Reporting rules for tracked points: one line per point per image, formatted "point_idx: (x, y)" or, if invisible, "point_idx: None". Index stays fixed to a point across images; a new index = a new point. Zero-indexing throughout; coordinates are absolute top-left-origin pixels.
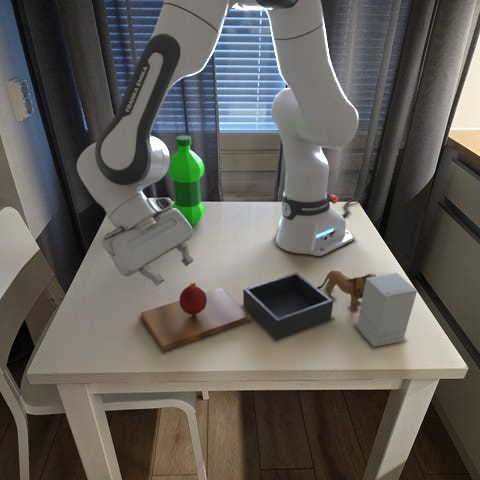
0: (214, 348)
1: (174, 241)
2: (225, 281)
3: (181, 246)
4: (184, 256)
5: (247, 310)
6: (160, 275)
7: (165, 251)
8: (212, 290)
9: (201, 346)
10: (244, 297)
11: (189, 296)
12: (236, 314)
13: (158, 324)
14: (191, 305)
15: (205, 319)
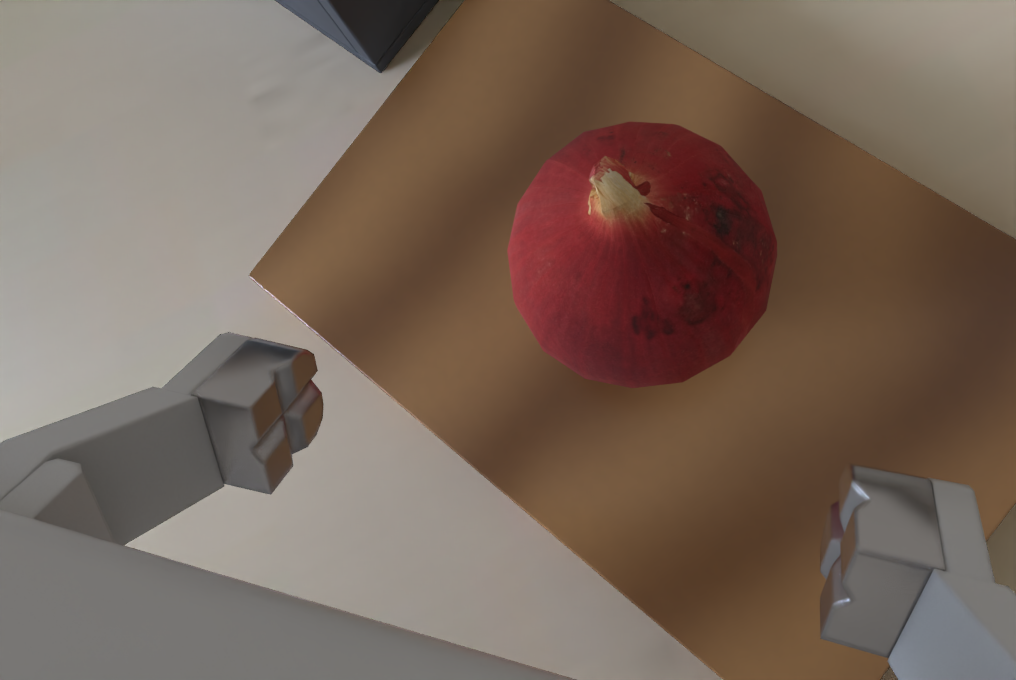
0: (893, 27)
1: (62, 597)
2: (131, 322)
3: (69, 516)
4: (206, 457)
5: (415, 23)
6: (877, 522)
7: (435, 640)
8: (300, 315)
9: (917, 114)
10: (354, 7)
11: (734, 203)
12: (524, 18)
13: None
14: (762, 197)
15: None
